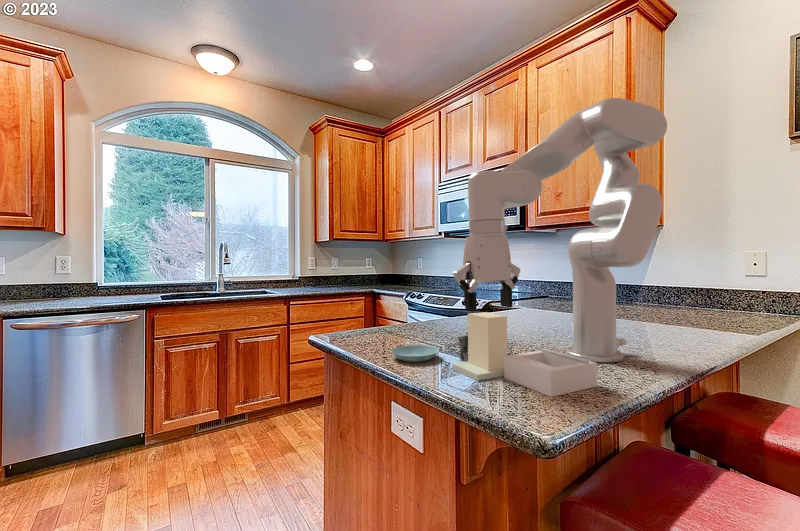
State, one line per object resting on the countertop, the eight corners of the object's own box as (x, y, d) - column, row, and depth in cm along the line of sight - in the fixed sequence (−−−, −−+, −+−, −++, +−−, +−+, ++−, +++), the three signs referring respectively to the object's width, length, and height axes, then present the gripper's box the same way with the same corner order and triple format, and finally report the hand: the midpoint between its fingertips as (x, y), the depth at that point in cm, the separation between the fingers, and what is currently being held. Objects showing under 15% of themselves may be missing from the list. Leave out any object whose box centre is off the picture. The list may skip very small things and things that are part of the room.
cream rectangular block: (486, 360, 87) (485, 312, 86) (507, 367, 80) (507, 316, 80) (468, 362, 84) (467, 313, 84) (488, 371, 78) (488, 318, 78)
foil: (527, 347, 90) (480, 316, 86) (504, 387, 89) (456, 357, 85) (500, 335, 101) (457, 307, 97) (480, 370, 100) (436, 344, 96)
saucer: (381, 358, 94) (381, 349, 94) (417, 350, 102) (417, 342, 102) (411, 369, 85) (411, 358, 85) (449, 359, 92) (449, 350, 92)
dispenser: (547, 369, 83) (547, 347, 83) (596, 386, 72) (596, 360, 72) (504, 377, 77) (504, 353, 77) (550, 396, 67) (550, 368, 67)
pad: (495, 362, 89) (495, 357, 89) (523, 372, 81) (523, 366, 81) (452, 369, 84) (452, 363, 84) (477, 380, 76) (477, 374, 76)
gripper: (506, 231, 89) (508, 303, 89) (443, 231, 81) (446, 310, 82) (529, 228, 82) (531, 307, 83) (464, 228, 75) (466, 314, 75)
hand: (489, 308), depth 82 cm, fingers open, 9 cm apart
